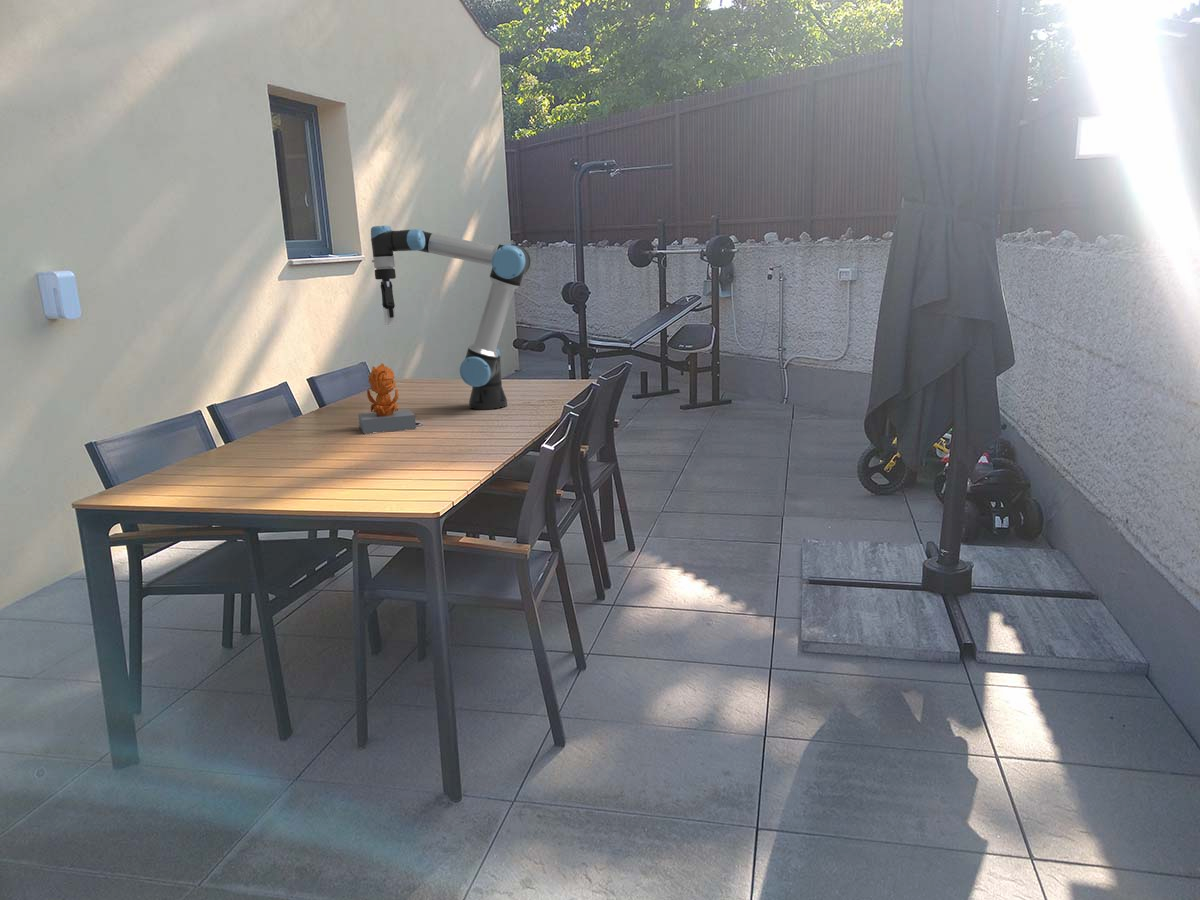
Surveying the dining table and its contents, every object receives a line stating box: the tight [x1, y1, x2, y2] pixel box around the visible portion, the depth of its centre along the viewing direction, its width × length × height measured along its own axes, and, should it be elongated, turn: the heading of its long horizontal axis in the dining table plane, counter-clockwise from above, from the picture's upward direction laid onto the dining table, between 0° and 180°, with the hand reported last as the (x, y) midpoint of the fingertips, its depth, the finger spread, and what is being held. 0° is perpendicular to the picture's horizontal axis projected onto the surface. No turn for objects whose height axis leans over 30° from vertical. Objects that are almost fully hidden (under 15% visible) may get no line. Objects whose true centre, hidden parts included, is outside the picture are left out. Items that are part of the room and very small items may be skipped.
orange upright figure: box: [366, 363, 399, 416], centre depth 318 cm, size 11×11×18 cm
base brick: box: [357, 408, 417, 435], centre depth 321 cm, size 18×14×5 cm
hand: (390, 325), depth 342 cm, fingers open, 13 cm apart
